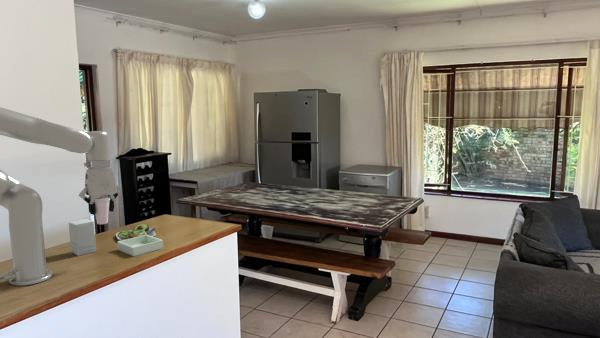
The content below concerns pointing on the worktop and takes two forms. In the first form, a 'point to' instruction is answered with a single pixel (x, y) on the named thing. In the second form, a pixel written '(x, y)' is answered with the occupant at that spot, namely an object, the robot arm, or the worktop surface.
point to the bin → (140, 245)
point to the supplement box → (82, 237)
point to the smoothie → (102, 209)
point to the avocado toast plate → (136, 232)
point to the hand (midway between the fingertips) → (101, 212)
